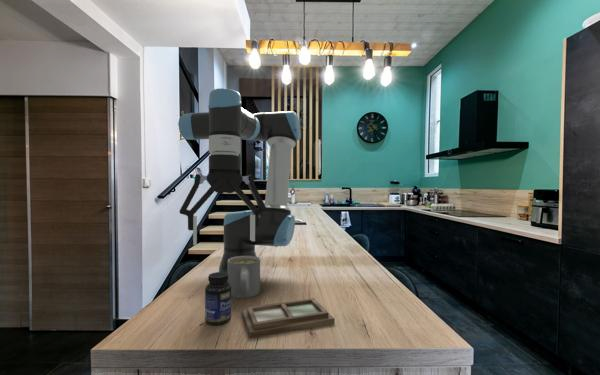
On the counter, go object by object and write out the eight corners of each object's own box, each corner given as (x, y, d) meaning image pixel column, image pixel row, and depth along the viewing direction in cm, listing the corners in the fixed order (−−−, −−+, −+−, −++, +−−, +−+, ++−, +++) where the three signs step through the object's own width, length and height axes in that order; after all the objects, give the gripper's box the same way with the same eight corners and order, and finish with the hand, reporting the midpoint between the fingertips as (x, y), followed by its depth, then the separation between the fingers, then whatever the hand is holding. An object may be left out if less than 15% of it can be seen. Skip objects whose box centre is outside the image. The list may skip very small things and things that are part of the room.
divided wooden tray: (242, 314, 72) (242, 305, 72) (315, 303, 78) (315, 295, 78) (250, 338, 61) (250, 327, 61) (334, 323, 67) (334, 314, 67)
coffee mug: (231, 286, 92) (231, 255, 92) (262, 286, 92) (262, 255, 92) (220, 302, 79) (220, 267, 79) (255, 303, 79) (255, 267, 79)
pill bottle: (223, 327, 65) (224, 279, 65) (199, 324, 66) (200, 277, 66) (235, 315, 71) (235, 271, 71) (213, 313, 73) (213, 270, 73)
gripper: (167, 150, 61) (166, 249, 61) (278, 155, 70) (278, 241, 70) (169, 154, 68) (169, 242, 68) (270, 158, 77) (270, 236, 77)
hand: (224, 242), depth 69 cm, fingers open, 13 cm apart
